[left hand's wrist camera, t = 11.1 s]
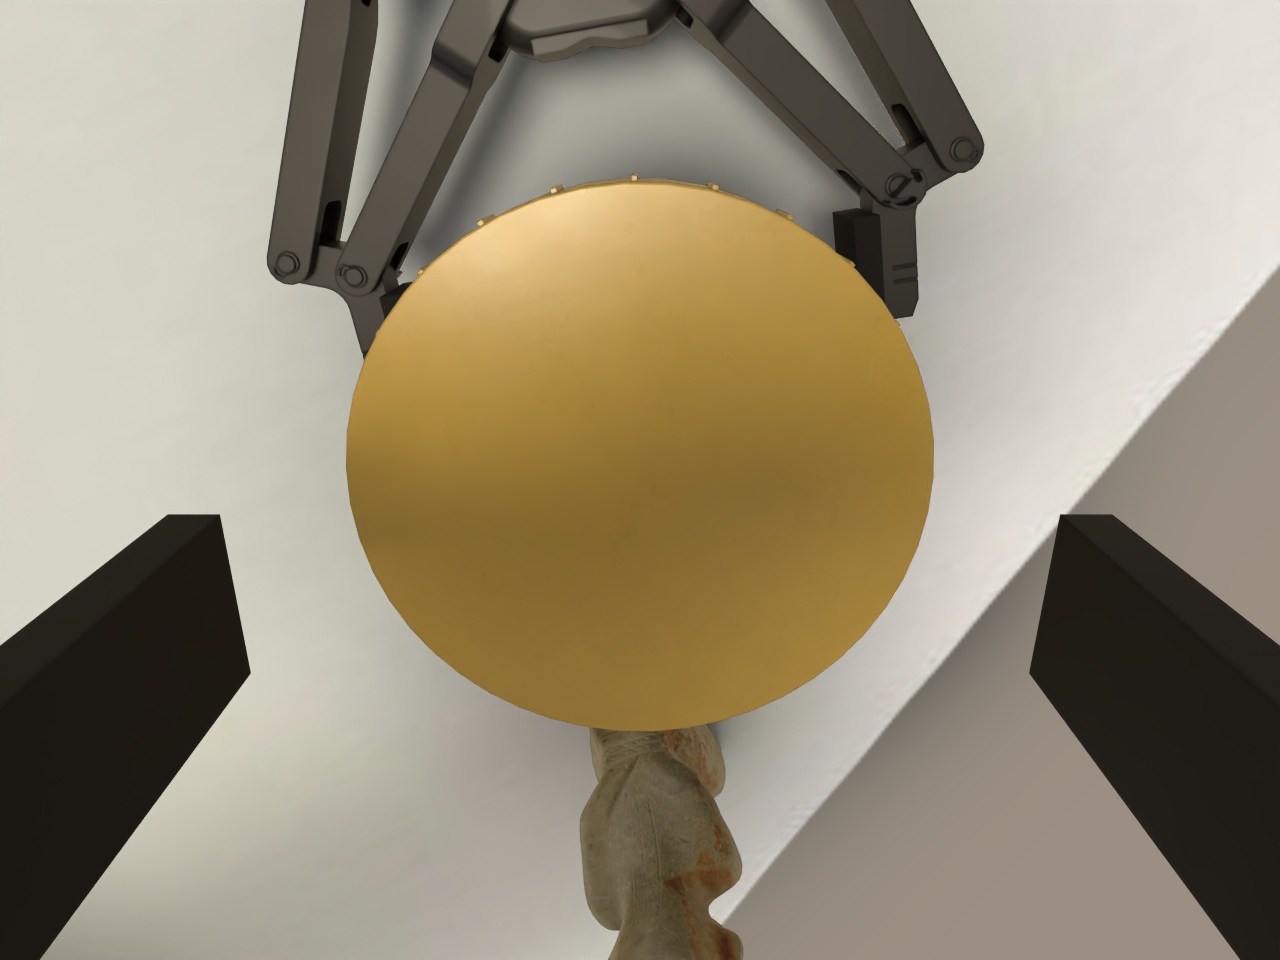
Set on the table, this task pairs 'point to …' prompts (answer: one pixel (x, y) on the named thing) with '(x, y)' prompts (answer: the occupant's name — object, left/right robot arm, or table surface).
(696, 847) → the sculpture
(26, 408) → the table surface
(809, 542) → the lid
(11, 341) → the table surface
